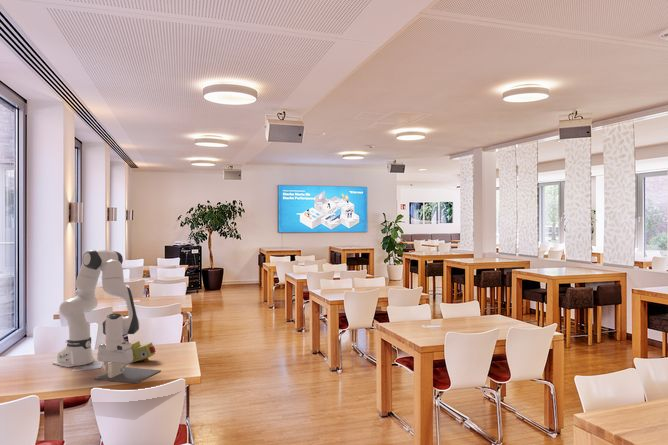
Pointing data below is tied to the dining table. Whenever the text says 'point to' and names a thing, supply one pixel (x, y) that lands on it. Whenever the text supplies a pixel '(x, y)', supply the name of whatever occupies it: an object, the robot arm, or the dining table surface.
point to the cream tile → (114, 369)
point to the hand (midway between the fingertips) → (115, 370)
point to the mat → (130, 375)
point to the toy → (142, 351)
